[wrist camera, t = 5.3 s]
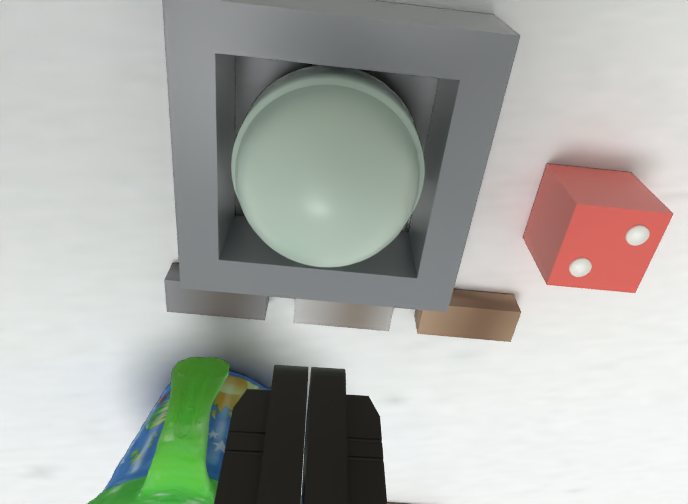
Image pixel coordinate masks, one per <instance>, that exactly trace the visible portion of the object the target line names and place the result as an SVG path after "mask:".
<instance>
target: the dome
mask: <svg viewBox="0 0 688 504" xmlns="http://www.w3.org/2000/svg"><path fill="white" fill-rule="evenodd" d="M231 172H232V181H233V185H234V190H235V192H236V195H237V198H238V200H239V202H240V205H241V208H242V210H243V213H244V215H245V217H246V219H247V221H248V223H249V224H250V226H251V227H252V228H253V230H254V231H255V232H256V234H257V235H258V236H259V237H260V238H261V239H262V240H263V241H264V242H265V243H266V244H267V245H268V246H269V247H271V248H272V249H273V250H275V251H276V252H278V253H279V254H281V255H282V256H284V257H286V258H288V259H290V260H293V261H296V262H298V263H302V264H305V265H309V266H316V267H341V266H346V265H351V264H354V263H358V262H361V261H363V260H365V259H368V258H370V257H371V256H373V255H375V254H377V253H378V252H379V251H381V250H382V249H383V248H385V247H386V246H387V245H388V244H390V243H391V242H392V241H393V240H394V239H395V238H396V237H397V235H398V234H399V233H400V232H401V230H402V229H403V228H404V226H405V224H406V223H407V221H408V219H409V217H410V216H411V214H412V212H413V211H414V209H415V207H416V205H417V203H418V201H419V198H420V195H421V192H422V188H423V183H424V175H425V170H424V157H423V151H422V147H421V144H420V140H419V137H418V133H417V130H416V127H415V124H414V121H413V119H412V117H411V114H410V112H409V110H408V109H407V107H406V106H405V104H404V103H403V101H402V100H401V99H400V98H399V97H398V95H397V94H396V93H395V92H394V91H393V90H392V89H391V88H389V87H388V86H387V85H386V84H385V83H383V82H382V81H380V80H379V79H377V78H376V77H374V76H372V75H370V74H368V73H365V72H363V71H360V70H357V69H353V68H344V67H335V66H326V65H317V66H310V67H306V68H302V69H299V70H296V71H293V72H291V73H288V74H286V75H285V76H283V77H281V78H279V79H277V80H276V81H275V82H273V83H272V84H271V85H269V86H268V87H267V88H266V89H265V90H264V91H263V92H262V93H261V94H260V95H259V96H258V98H257V99H256V100H255V102H254V103H253V104H252V106H251V108H250V110H249V112H248V113H247V115H246V117H245V120H244V122H243V124H242V126H241V128H240V130H239V132H238V135H237V138H236V140H235V143H234V148H233V152H232V161H231Z"/></svg>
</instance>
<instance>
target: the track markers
mask: <svg viewBox="0 0 688 504" xmlns="http://www.w3.org/2000/svg"><path fill="white" fill-rule="evenodd" d="M165 293H166V305H167V312H177V313H188V314H200V315H211V316H223V317H234V318H245V319H257V320H265V316H266V311H267V306H268V296H261V295H250V294H239V293H228V292H216V291H205V290H194V289H183V288H181V287H180V271H179V264H176V263H172V265H171V268H170V270H169V272H168V274H167V276H166V278H165ZM393 308H394V307H383V306H372V305H361V304H350V303H339V302H328V301H317V300H305V299H295V310H294V323H302V324H314V325H325V326H336V327H348V328H359V329H371V330H382V331H389V329H390V323H391V318H392V313H393ZM520 314H521V311H520V309H519V306H518V304H517V301H516V299H515V296H514V295H513V294H502V293H491V292H480V291H469V290H458V289H453V293H452V297H451V301H450V305H449V308H448V312H439V311H428V310H417V309H416V311H415V315H414V316H415V322H416V328H417V334H428V335H439V336H450V337H462V338H473V339H485V340H496V341H507V342H511V339H512V336H513V334H514V331H515V328H516V325H517V322H518V320H519V317H520ZM301 499H302V496H301ZM387 504H400V503H387Z"/></svg>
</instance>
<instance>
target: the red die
mask: <svg viewBox="0 0 688 504" xmlns="http://www.w3.org/2000/svg"><path fill="white" fill-rule="evenodd" d="M672 216H673V213H672V212H671V211H670V210H669V209H668V208H667V207H666V206H665V205H664V204H663V203H662V202H661V201H660V200H659V199H658V198H657V197H656V196H655V195H654V194H653V193H652V192H651V191H650V190H649V189H648V188H647V187H646V186H645V185H643V184H642V183H641V182H640V181H639V180H638V179H637V178H636V177H635V176H634V175H633V174H632V173H631V172H622V171H613V170H603V169H593V168H584V167H574V166H565V165H555V164H547V165H546V168H545V171H544V174H543V177H542V180H541V183H540V186H539V190H538V193H537V196H536V199H535V202H534V205H533V208H532V211H531V214H530V217H529V220H528V223H527V226H526V229H525V232H524V236H523V239H524V241H525V243H526V245H527V247H528V249H529V251H530V253H531V255H532V257H533V259H534V261H535V263H536V265H537V267H538V268H539V270H540V272H541V274H542V276H543V278H544V280H545V282H546V284H547V285H555V286H566V287H577V288H587V289H598V290H609V291H619V292H630V293H635V292H636V290H637V288H638V286H639V284H640V282H641V280H642V278H643V276H644V274H645V272H646V270H647V267H648V265H649V263H650V261H651V259H652V257H653V255H654V253H655V251H656V249H657V247H658V245H659V243H660V241H661V238H662V236H663V234H664V232H665V230H666V228H667V226H668V224H669V222H670V220H671V218H672Z"/></svg>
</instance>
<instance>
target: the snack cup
mask: <svg viewBox="0 0 688 504" xmlns="http://www.w3.org/2000/svg"><path fill="white" fill-rule="evenodd" d="M229 368H230V366H229V364H228V363H227V362H225V361H223V360H221V359H219V358H211V357H209V358H202V357H193V358H188V359H186V360H182V361H180V362H178V363H177V364H176V365H175V367H174V369H173V371H172V377H171V384H170V385H168V387H167V388H166V389H165V391H164V392H163V394H162V395H161V397H160V399H159V400H158V402H157V403H156V404H155V406H154V408H153V409H152V411H151V413H150V414H149V416H148V417H147V419H146V421H145V422H144V424H143V425H142V427H141V429H140V431H139V433H138V434H137V436H136V437H135V439H134V440H133V441H132V443H131V445H130V447H129V448H128V450H127V452H126V454H125V455H124V457H123V458H122V460H121V461H120V463H119V464H118V466H117V468H116V469H115V471H114V474H113V476H112V478H111V480H110V481H109V483H108V484H107V486H106V487H105V489H104V490H103V492H102V493H100V494H99V495H98V496H97V497H96V498H95V499H94V500H92V501H90V502H89V503H88V504H214V500H215V495H216V490H217V485H218V480H219V475H220V470H221V465H222V460H223V455H224V452H225V445H226V440H227V435H228V430H229V425H230V420H231V415H232V410H233V407H234V406H235V404H236V403H237V402H238V400H239V399H240V398H241V396H242V395H243V394H244V392H245V391H246V390H247V389H259V390H271V389H267V388H264V387H263V386H262V385H260V384H259V383H257V382H256V381H254V380H252V379H250V378H248V377H246V376H244V375H241V374H237V373H233V372H230V371H228V370H229Z"/></svg>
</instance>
